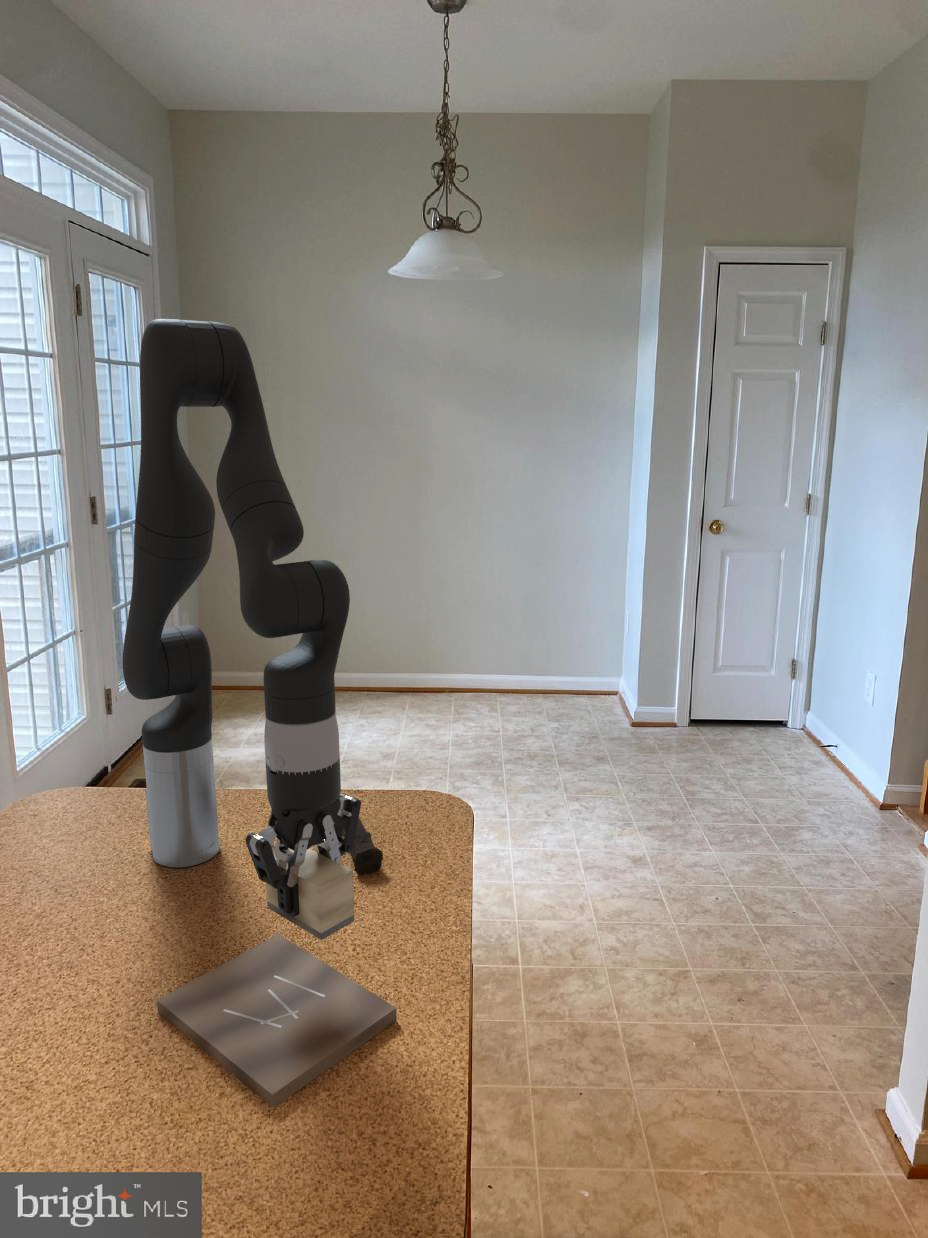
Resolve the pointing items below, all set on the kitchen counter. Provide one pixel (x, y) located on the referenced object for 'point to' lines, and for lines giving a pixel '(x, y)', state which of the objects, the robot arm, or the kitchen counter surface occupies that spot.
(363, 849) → the hand tool
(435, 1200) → the kitchen counter surface
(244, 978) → the walnut board
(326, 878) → the block
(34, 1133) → the kitchen counter surface
